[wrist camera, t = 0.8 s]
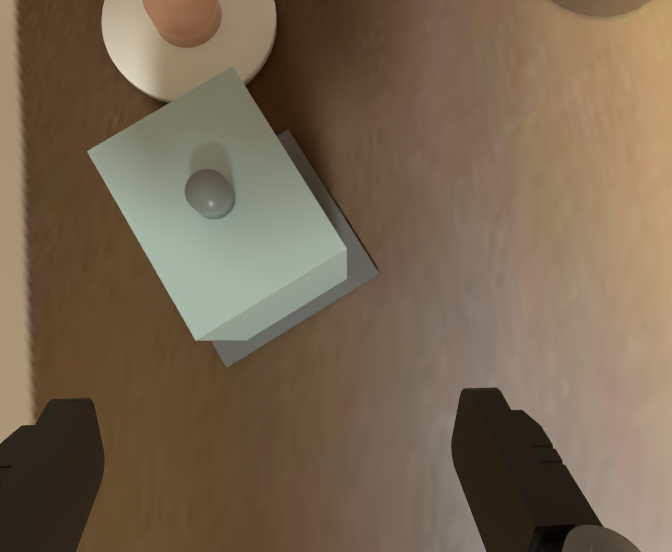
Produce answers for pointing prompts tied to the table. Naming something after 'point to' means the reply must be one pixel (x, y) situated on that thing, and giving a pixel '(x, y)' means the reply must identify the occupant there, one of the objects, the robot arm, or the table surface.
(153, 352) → the table surface
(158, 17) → the pink rounded disc
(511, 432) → the robot arm
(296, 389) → the table surface
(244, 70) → the plate
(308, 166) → the mat
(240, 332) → the cloche
